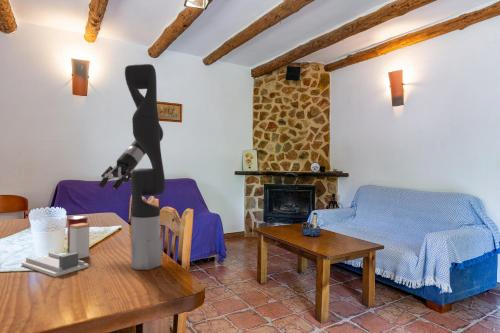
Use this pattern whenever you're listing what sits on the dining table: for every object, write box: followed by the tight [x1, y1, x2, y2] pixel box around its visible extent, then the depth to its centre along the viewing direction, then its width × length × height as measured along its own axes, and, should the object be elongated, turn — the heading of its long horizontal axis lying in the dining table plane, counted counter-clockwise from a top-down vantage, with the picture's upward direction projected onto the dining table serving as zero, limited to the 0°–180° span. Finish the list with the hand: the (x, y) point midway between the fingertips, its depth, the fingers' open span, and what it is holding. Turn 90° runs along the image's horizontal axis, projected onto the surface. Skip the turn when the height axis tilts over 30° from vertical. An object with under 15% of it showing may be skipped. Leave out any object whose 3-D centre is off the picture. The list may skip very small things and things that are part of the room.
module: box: [69, 223, 90, 260], centre depth 119 cm, size 4×5×12 cm
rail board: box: [20, 252, 89, 278], centre depth 109 cm, size 20×11×5 cm, turn 60°
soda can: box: [67, 215, 89, 249], centre depth 133 cm, size 7×7×12 cm
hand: (106, 187), depth 129 cm, fingers open, 8 cm apart
